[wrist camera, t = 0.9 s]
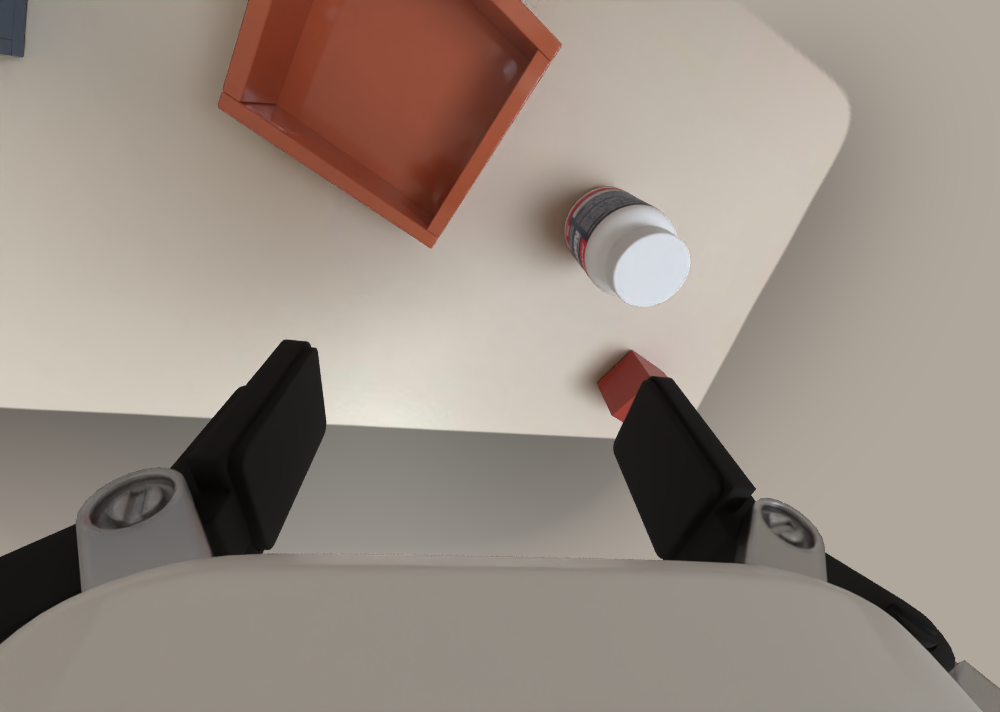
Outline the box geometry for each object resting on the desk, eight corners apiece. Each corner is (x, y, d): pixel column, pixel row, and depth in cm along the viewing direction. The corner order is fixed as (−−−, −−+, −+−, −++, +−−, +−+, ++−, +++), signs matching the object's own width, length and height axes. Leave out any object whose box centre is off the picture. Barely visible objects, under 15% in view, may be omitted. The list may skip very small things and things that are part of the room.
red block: (631, 349, 32) (652, 380, 29) (663, 372, 34) (687, 403, 30) (596, 383, 34) (611, 415, 30) (628, 403, 36) (646, 436, 32)
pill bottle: (549, 217, 26) (581, 260, 18) (617, 168, 24) (682, 193, 17) (584, 276, 28) (625, 334, 21) (648, 235, 27) (716, 282, 19)
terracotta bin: (348, -144, 16) (311, -222, 13) (545, 57, 21) (562, 44, 17) (262, 108, 21) (216, 107, 17) (437, 228, 26) (431, 249, 22)
